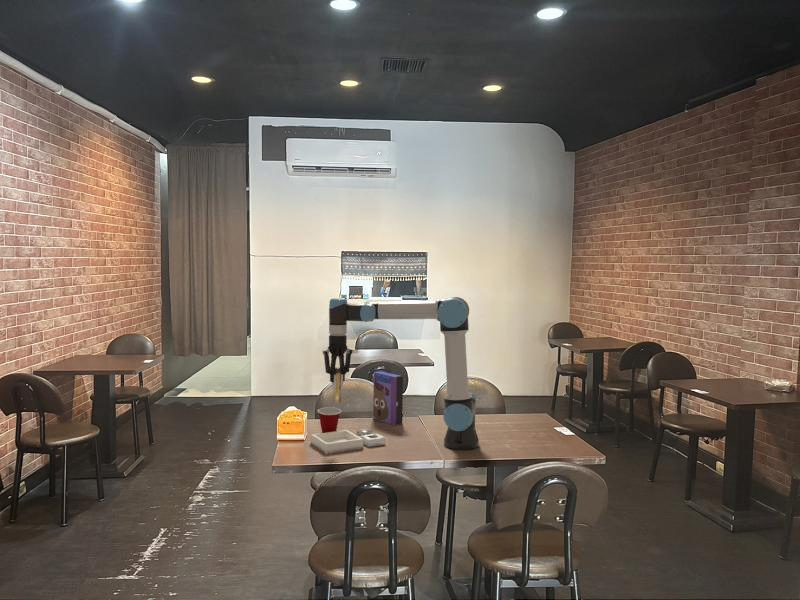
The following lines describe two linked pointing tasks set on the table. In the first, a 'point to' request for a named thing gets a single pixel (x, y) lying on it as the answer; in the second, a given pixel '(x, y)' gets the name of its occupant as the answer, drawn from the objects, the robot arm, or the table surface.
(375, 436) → the bracket
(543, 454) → the table surface
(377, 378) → the cereal box
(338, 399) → the lock pin
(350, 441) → the tray
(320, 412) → the plastic cup
